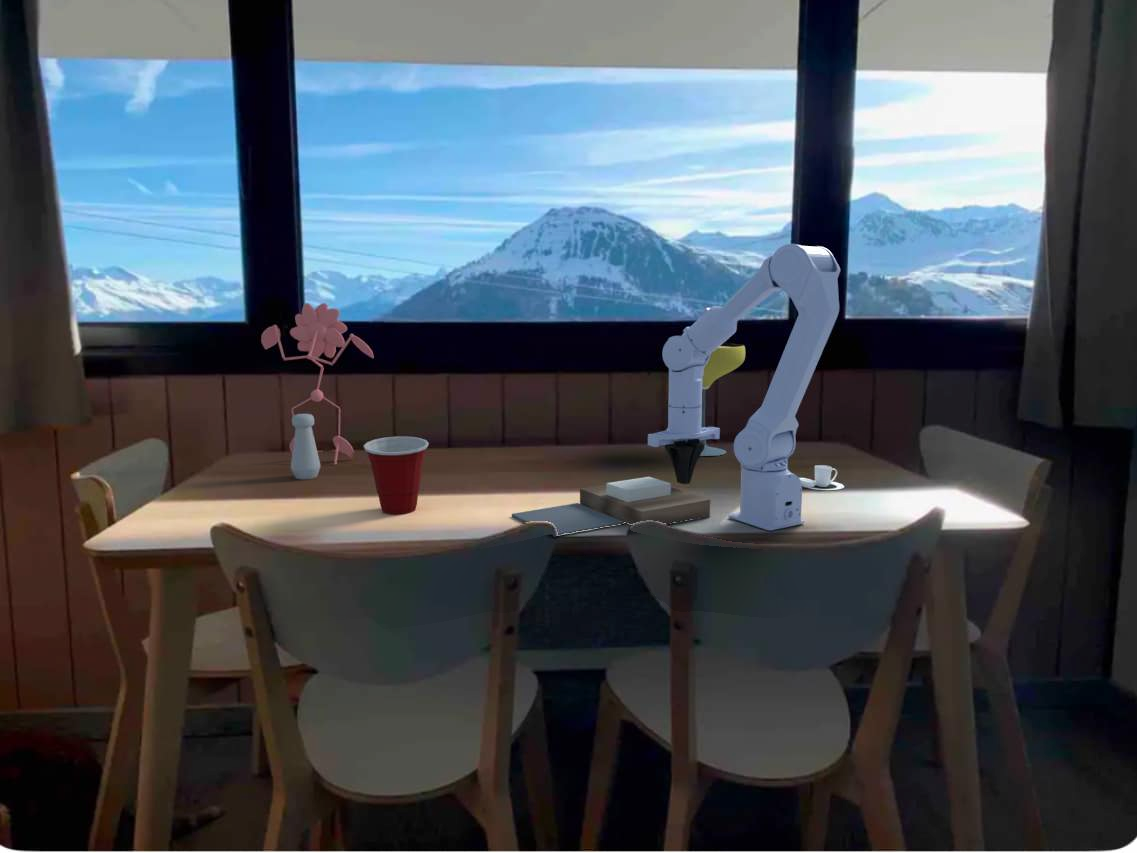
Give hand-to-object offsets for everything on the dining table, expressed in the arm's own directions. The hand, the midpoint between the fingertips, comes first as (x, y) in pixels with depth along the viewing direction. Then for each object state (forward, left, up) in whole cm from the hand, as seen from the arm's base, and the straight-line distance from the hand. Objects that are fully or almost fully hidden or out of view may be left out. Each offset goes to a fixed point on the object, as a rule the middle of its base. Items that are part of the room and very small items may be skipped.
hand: (683, 482), depth 141 cm
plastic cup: (+23, +44, -4) cm, 50 cm away
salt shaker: (+58, +51, -4) cm, 77 cm away
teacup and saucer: (-1, -31, -4) cm, 31 cm away
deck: (0, +9, -4) cm, 10 cm away
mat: (+2, +23, -4) cm, 23 cm away
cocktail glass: (+34, -34, -4) cm, 48 cm away
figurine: (+75, +42, -4) cm, 86 cm away
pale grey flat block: (0, +10, -1) cm, 10 cm away
